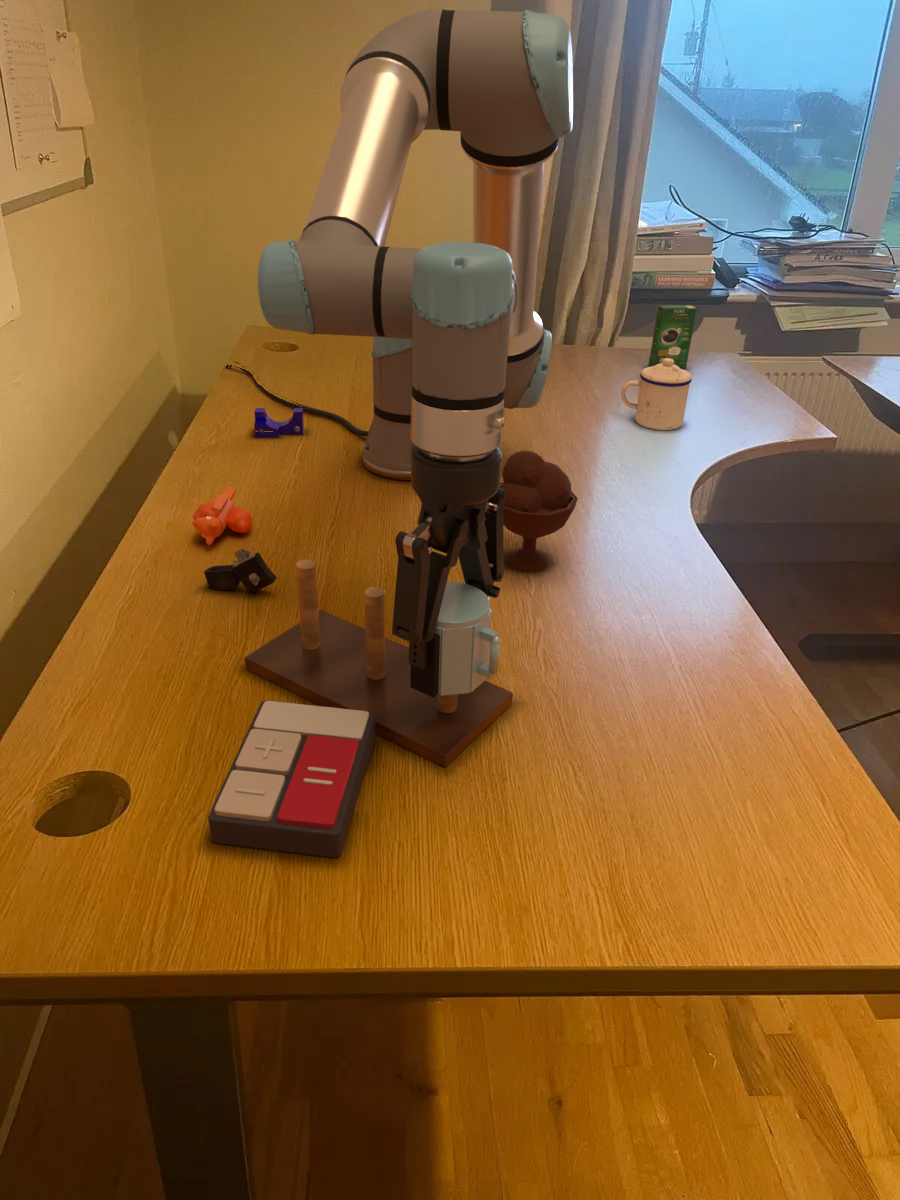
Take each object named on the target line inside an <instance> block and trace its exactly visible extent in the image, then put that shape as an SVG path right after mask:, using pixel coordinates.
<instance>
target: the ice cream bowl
mask: <svg viewBox="0 0 900 1200" xmlns="http://www.w3.org/2000/svg"><path fill="white" fill-rule="evenodd" d="M501 474H502V481H503V482H500V485H499V488H501V489H504V490H506V492H507V494H506V500H505V506H504V511H503V527H504V528H506V530H508V531H509V532H512V533H513V534H515V535H517V536H520V537H522V547H521V548H519V549H515V550H512V551H511V552H510V554H509V555H508V556H507V558H506V562H507V563H508V565H509V566H510V568H513V569H515V570H518V571H520V572H529V573H530V572H532V573H536V572H539V571H543V570H545V569H547V567H548V565H549V564H550V561H549V558H548V557H547V555H546V554H545V553H544V552H542V551H540V550H538V549H537V539H539V538H543V537H546V536H549V535H551V534H554V533H556V532H558V531H560V529H563V527H564V526H566V523H567V521H568V520H570V519H569V518H570V517H571V516H572V513H573V512H574V510H575V509H576V506H577V503H578V500H579V498H578V497H577V495H576V494H575V493H574V492H573V491H572V483H571V481H570V478H569V477H568V475H567V473H565V472H564V470H562V469H561V468H560V466H559V465H557V464H554V463H552V462H549V461H545V460H544V458H543V457H542V456H541V455H539V454H538V453H537V452H535V451H532V450H521V451H516V452H515V453H513V454H511V455H510V456H509V457H508V458H507V460H506V461H505V464H504V467H503V469H502V473H501Z"/></svg>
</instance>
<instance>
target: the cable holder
mask: <svg viewBox="0 0 900 1200" xmlns="http://www.w3.org/2000/svg"><path fill="white" fill-rule="evenodd" d="M292 413H293V414H292V415H291V417H290V418H288V419H287V420H285V421H277V420H273V418H271V417H270V416H269V415H268V414H267V412H266V408H265V407H255V409H254V421H253V424H254V425H253V427H254V428H253V429H254V438H259V439H260V438H261V439H262V438H263V439H264V438H265V439H266V438H267V439H269V438H270V439H271V438H272V439H273V438H274V439H275V438H277V439H279V438H280V436H281V435H297V436H298V435H300V436H301V435H305V434H304V433H305V420H304V419H305V418H304V417H305V416H304V411H303V408H294V407H293V410H292ZM255 430H257V431H258V432H255ZM264 431H273V432H264Z"/></svg>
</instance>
